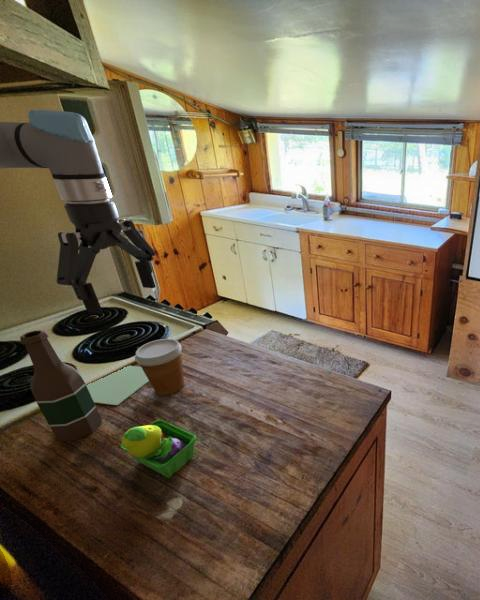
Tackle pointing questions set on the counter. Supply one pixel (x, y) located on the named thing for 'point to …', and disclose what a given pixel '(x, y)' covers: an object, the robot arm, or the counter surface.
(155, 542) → the counter surface
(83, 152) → the robot arm
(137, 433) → the fruit basket
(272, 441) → the counter surface
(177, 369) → the disposable coffee cup
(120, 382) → the mat
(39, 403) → the beer bottle
